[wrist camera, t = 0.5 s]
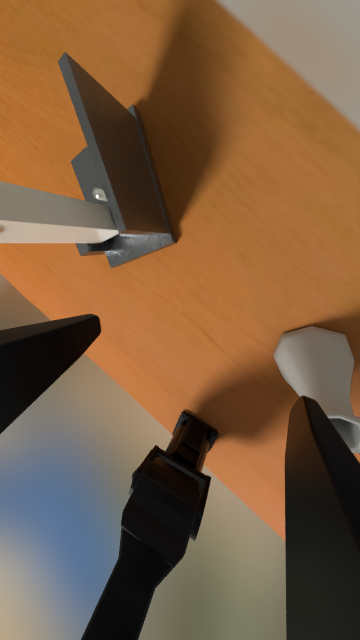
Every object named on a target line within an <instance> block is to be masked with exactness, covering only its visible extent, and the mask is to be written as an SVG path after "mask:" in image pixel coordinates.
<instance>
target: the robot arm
mask: <svg viewBox="0 0 360 640" xmlns="http://www.w3.org/2000/svg"><path fill="white" fill-rule="evenodd" d="M100 333H101V325H100V319H99V317H98V316H96V315H93V314H86V315H80V316H75V317H70V318H64V319H59V320H53V321H48V322H43V323H37V324H32V325H26V326H21V327H16V328H10V329H5V330H0V434H1V433H2V432H3V431H4V430H5V429H6V428H7V427H8V426H9V425H10V424H11V423H12V422H13V421H14V420H15V419H16V418H17V417H19V415H21V414H22V413H23V412H24V411H25V410H26V409H27V407H29V406H30V405H31V404H32V403H33V402H34V401H35V400H36V399H37V398H38V397H39V396H40V395H41V394H42V393H43V392H45V391H46V390H47V389H48V388H49V387H50V386H51V385H52V384H53V383H54V382H55V381H56V380H57V379H58V378H59V377H60V376H61V375H62V374H63V373H64V372H65V371H66V370H67V369H68V368H69V367H70V366H71V365H73V363H75V361H77V360H78V359H79V358H80V357H81V355H82V354H83V353H84V352H85V351H86V350H87V349H88V347H89V346H90V345H91V344H92V343H93V342H94V341H95V339H96V338H97V337H98V336H99V335H100ZM217 437H218V432H217V431H216V430H214V429H212V428H211V427H209V426H207V425H206V424H204V423H202V422H201V421H199V420H197V419H196V418H194V417H192V416H191V415H189V414H187V413H186V412H182V413H181V415H180V417H179V419H178V422H177V424H176V427H175V429H174V431H173V437H172V439H171V442H170V443H169V446H168V448H167V450H166V451H164V450H162V449H160V448H159V447H158V446H156V445H155V447H154V448H153V450H151V451H150V453H149V454H148V455H147V457H146V458H145V459H144V461H143V462H142V464H141V465H140V466H139V467H138V468H137V469H136V470H135V471H134V473H133V475H132V484H131V488H130V490H129V494H130V495H131V496H130V498H129V500H128V502H127V504H126V506H125V508H124V510H123V515H122V521H121V527H122V530H121V540H120V550H119V558H118V560H117V563H116V565H115V567H114V569H113V571H112V574H111V576H110V578H109V580H108V582H107V584H106V587H105V589H104V591H103V593H102V595H101V597H100V600H99V602H98V604H97V606H96V608H95V611H94V613H93V615H92V617H91V619H90V621H89V623H88V626H87V628H86V630H85V632H84V634H83V636H82V639H81V640H138V638H139V635H140V632H141V629H142V626H143V623H144V620H145V617H146V614H147V611H148V608H149V605H150V603H151V599H152V597H153V593H154V591H155V588H156V587H157V585H159V584H160V583H161V581H162V580H163V579H164V578H165V577H166V576H167V575H168V574H169V572H170V571H171V570H172V569H173V568H174V567H175V566H176V565H177V563H178V562H179V561H180V560H181V559H182V558H183V556H184V554H185V551H186V548H187V544H188V541H189V537H190V538H191V539H192V540H194V541H195V539H196V537H197V533H198V530H199V527H200V523H201V520H202V516H203V512H204V508H205V504H206V499H207V495H208V490H209V485H210V481H211V477H210V476H208V475H207V476H206V475H205V474H203V473H201V471H202V468H203V465H204V461H205V458H206V455H207V453H208V451H209V450H210V448H211V446H212V445H213V443H214V442H215V440H216V438H217ZM285 534H286V624H287V625H286V628H287V629H286V631H287V632H286V633H287V640H360V463H359V461H358V460H357V459H356V457H355V456H354V454H353V453H352V451H351V450H350V448H349V447H348V445H347V444H346V443H345V441H344V440H343V438H342V437H341V435H340V434H339V432H338V431H337V430H336V428H335V427H334V425H333V424H332V422H331V421H330V419H329V418H328V417H327V415H326V414H325V412H324V411H323V409H322V408H321V406H320V405H319V404H318V402H317V401H316V400H315V399H312V398H310V397H307V396H304V395H302V396H300V397H299V399H298V400H297V401H296V403H295V404H294V406H293V407H292V409H291V411H290V416H289V425H288V434H287V443H286V452H285Z"/></svg>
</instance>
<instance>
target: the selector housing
mask: <svg viewBox="0 0 360 640" xmlns="http://www.w3.org/2000/svg"><path fill="white" fill-rule="evenodd" d="M58 63H59V66H60V69H61V71H62V74H63V77H64V80H65V83H66V86H67V88H68V91H69V94H70V97H71V100H72V103H73V105H74V108H75V111H76V114H77V117H78V119H79V122H80V125H81V128H82V131H83V134H84V136H85V139H86V142H87V145H88V146H87V147H86V148H85V149H84V150H83V151H82V152H80V153H79V154H78V155H77V156H76V157H75V158H74V159H73V160H72V161H71V163H72V166H73V169H74V171H75V174H76V177H77V179H78V182H79V185H80V187H81V190H82V192H83V195H84V198H85V200H86V201H88V202H92V203H96V204H101V205H105V206H109V207H110V210H111V213H112V216H113V218H114V221H115V224H116V227H117V230H118V232H119V234H117V235H115V236H114V237H112V238H110V239H108V240H106V241H104V242H102V243H76V246H77V248H78V251H79V253H80V255H81V256H88V255H103V254H105V253H106V256H107V258H108V261H109V264H110V266H111V268H113V267H118V266H120V265H123V264H125V263H128V262H130V261H133V260H135V259H138V258H140V257H143V256H145V255H148V254H150V253H153V252H155V251H158V250H160V249H163V248H165V247H167V246H170V245H172V244H175V243H177V242H176V238H175V235H174V231H173V228H172V225H171V221H170V218H169V214H168V211H167V207H166V204H165V200H164V197H163V193H162V190H161V186H160V183H159V179H158V176H157V172H156V169H155V165H154V162H153V159H152V155H151V152H150V148H149V145H148V141H147V138H146V134H145V131H144V127H143V124H142V120H141V117H140V113H139V111H138V110H137V109H136V107H135V106H134V105H132V106H131V107H129V108H128V109H126V108H125V107H124V106H123V105H122V104H120V103H119V102H118V101H117V100H116V99H115V98H114V97H113V96H112V95H111V94H110V93H109V92H108V91H107V90H105V89H104V88H103V87H102V86H101V85H100V84H99V83H98V82H97V81H96V80H95V79H94V78H93V77H92V76H90V75H89V74H88V73H87V72H86V71H85V70H84V69H83V68H82V67H81V66H80V65H79V64H78V63H77V62H75V61H74V60H73V59H72V58H71V57H70V56H69V55H68V54H67V53H66V52H65V53H64V54H63V55H62V57H61V58H60V60H59V61H58Z"/></svg>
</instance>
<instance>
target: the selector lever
mask: <svg viewBox="0 0 360 640" xmlns="http://www.w3.org/2000/svg"><path fill="white" fill-rule="evenodd" d="M117 234H119V232H118V230H117V227H116V224H115V221H114V218H113V216H112V213H111V210H110V207H109V206H105V205H101V204H96V203H92V202H88V201H83V200H79V199H75V198H70V197H66V196H62V195H57V194H53V193H49V192H44V191H40V190H36V189H31V188H27V187H23V186H18V185H14V184H10V183H5V182H1V181H0V243H102V242H104V241H106V240H108V239H110V238H112V237H114V236H115V235H117Z"/></svg>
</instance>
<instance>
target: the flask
mask: <svg viewBox="0 0 360 640" xmlns="http://www.w3.org/2000/svg"><path fill="white" fill-rule="evenodd" d="M273 357H274V359H275V361H276V363H277V366H278V368H279V370H280V372H281V375H282V377H283V378H284V379H285V380H286V381H287V383H288V384H289V385H290V386H291V387H292V388H293V389H294V390H295V392H296V393H297V394H298V395H299V397H300V396H302V395H304V396H307V397H310V398H312V399H315V400H316V401H317V402H318V404H319V405H320V406H321V408H322V409H323V411H324V412H325V414H326V415H327V417H328V418H329V419H330V421H331V422H332V424H333V425H334V427H335V428H336V430H337V431H338V432H339V434H340V435H341V437H342V438H343V440H344V441H345V443H346V444H347V445H348V447H349V448H350V450H351V451H352V453H360V417H357V416H355V415H354V413H353V411H352V406H351V401H350V389H351V379H352V373H353V368H354V361H355V359H354V356H353V354H352V351H351V348H350V346H349V343H348V340H347V338H346V335H345V334H342V333H338V332H334V331H330V330H326V329H322V328H318V327H314V326H310V327H306V328H302V329H299V330H295V331H291V332H287V333H284V334H281V337H280V339H279V342H278V344H277V347H276V349H275V352H274V354H273Z"/></svg>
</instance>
